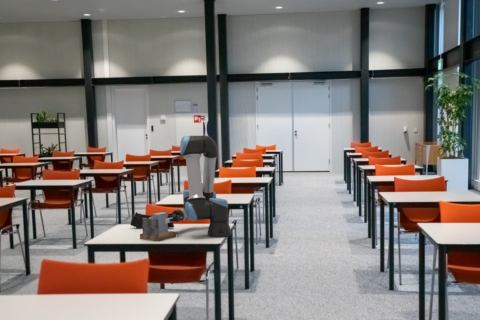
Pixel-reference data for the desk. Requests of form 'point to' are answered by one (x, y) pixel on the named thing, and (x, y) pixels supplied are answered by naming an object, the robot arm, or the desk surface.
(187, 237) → the desk surface
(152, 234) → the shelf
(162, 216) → the slate gray rectangular prism
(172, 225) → the magazine
